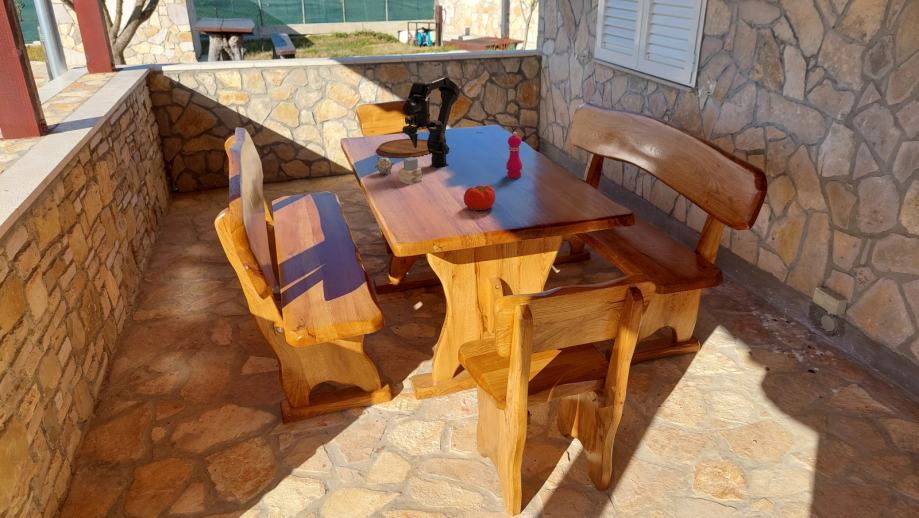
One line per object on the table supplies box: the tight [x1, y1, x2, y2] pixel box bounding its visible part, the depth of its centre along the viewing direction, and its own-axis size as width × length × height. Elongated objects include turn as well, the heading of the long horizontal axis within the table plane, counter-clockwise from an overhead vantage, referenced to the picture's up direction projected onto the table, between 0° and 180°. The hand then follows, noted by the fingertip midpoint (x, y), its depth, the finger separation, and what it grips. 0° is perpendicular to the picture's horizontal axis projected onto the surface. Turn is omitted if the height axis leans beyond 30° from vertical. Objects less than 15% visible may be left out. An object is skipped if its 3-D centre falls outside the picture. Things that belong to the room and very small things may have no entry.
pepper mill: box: [505, 131, 523, 179], centre depth 279 cm, size 7×7×20 cm
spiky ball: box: [374, 156, 395, 176], centre depth 290 cm, size 9×8×10 cm
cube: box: [402, 157, 419, 171], centre depth 277 cm, size 4×4×4 cm
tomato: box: [463, 184, 496, 211], centre depth 245 cm, size 13×12×8 cm
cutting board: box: [376, 138, 432, 159], centre depth 329 cm, size 32×32×3 cm
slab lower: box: [398, 175, 423, 186], centre depth 280 cm, size 7×7×3 cm
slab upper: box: [398, 167, 423, 179], centre depth 278 cm, size 7×7×3 cm
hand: (423, 146), depth 286 cm, fingers open, 9 cm apart
